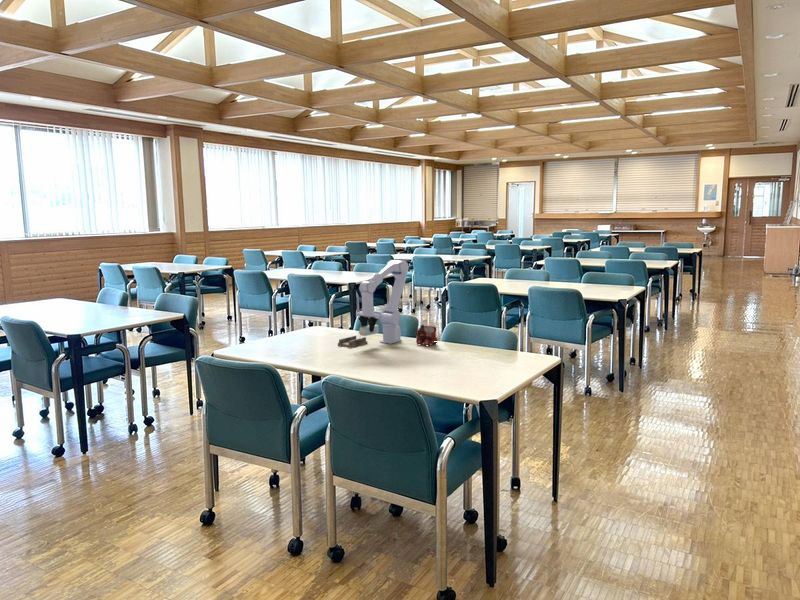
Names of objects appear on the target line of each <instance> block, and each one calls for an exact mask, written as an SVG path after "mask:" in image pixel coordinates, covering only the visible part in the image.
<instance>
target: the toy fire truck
mask: <svg viewBox="0 0 800 600" xmlns="http://www.w3.org/2000/svg"><path fill="white" fill-rule="evenodd" d="M436 334H437V326H432V325H424V324H420V327H419V328H418V329H417V332H416V342H415V343H416V344H417V345H418V344H421V345H420V346H422V345H424V346H425V345H428V347H430V346H431V345H432V344H435V345H437V344H438V342H434V341H438V338H437V336H436ZM436 343H437V344H436Z"/></svg>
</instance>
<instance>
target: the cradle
mask: <svg viewBox="0 0 800 600" xmlns="http://www.w3.org/2000/svg"><path fill="white" fill-rule="evenodd" d="M367 344H368V340H367V336H365V337H364V336H363V337H359V338H357V335H351V336H348V337H343V338H340V339H338V343H337V346H339V345H341V347H345V346H346V347H347V348H350V347H351V348H352V347H353V348H356V347H359V346H363V345H367ZM346 347H345V348H346Z"/></svg>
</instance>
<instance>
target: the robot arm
mask: <svg viewBox="0 0 800 600" xmlns="http://www.w3.org/2000/svg"><path fill="white" fill-rule="evenodd" d="M409 270H410V267H409V264H408V262H407V260H399V259H390V260H389V261H387V263H386V265H385V267H383V268H382V269H381V270H380V271H379V272H373V273H372V275H371V276H370V277H369V278H367V279H366V281H365V280H363V281H362V282H361V283H360V284H359V287H358V290H359V292H360V296H361V311H356V313H355V316H356V317H358V321H359V323H360V325H361V327H364V326H368V325H369V329H370V332H373V331H374V327H375V325H377V324H376V323H377V322H378V319H379V322H380V324H381V326H382V340H380V341H379V343H383V344H390V345H392V344H395V343H399V342H402V341H403V340H402V338H401V337H402V335H401V327H400V326H399V323H400V315H401V312H400V311H399V309H398V307H399V304H400V302H401V298H402V294H403V291H404V288H405V284H406V280H407V276H408V275H407V274H408V272H409ZM389 274H391V275H392V276H393V277H394V283H393V286H392V290H391V293H390V296H389V300H388V303H387V306H386V307H384V308H383V309H382V312H381V313H380V314H379V313H375V312H374V292H375V291H376V289H377V287H378V286H379V285H380V284H381V283H383V281H384V278H385V277H387V276H388V275H389Z"/></svg>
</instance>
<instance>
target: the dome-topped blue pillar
mask: <svg viewBox="0 0 800 600" xmlns="http://www.w3.org/2000/svg"><path fill="white" fill-rule="evenodd" d="M379 325H380V324H379ZM379 325H378V324H375V327H374V331H373V332H370V329H369V324H367V326H364V327H362V326H360V327H359V330H358V333H359V335H360V336H361V337H362V336H363V337H364V336H365V337H367V336H371V335H375V334H380V326H379Z"/></svg>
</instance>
